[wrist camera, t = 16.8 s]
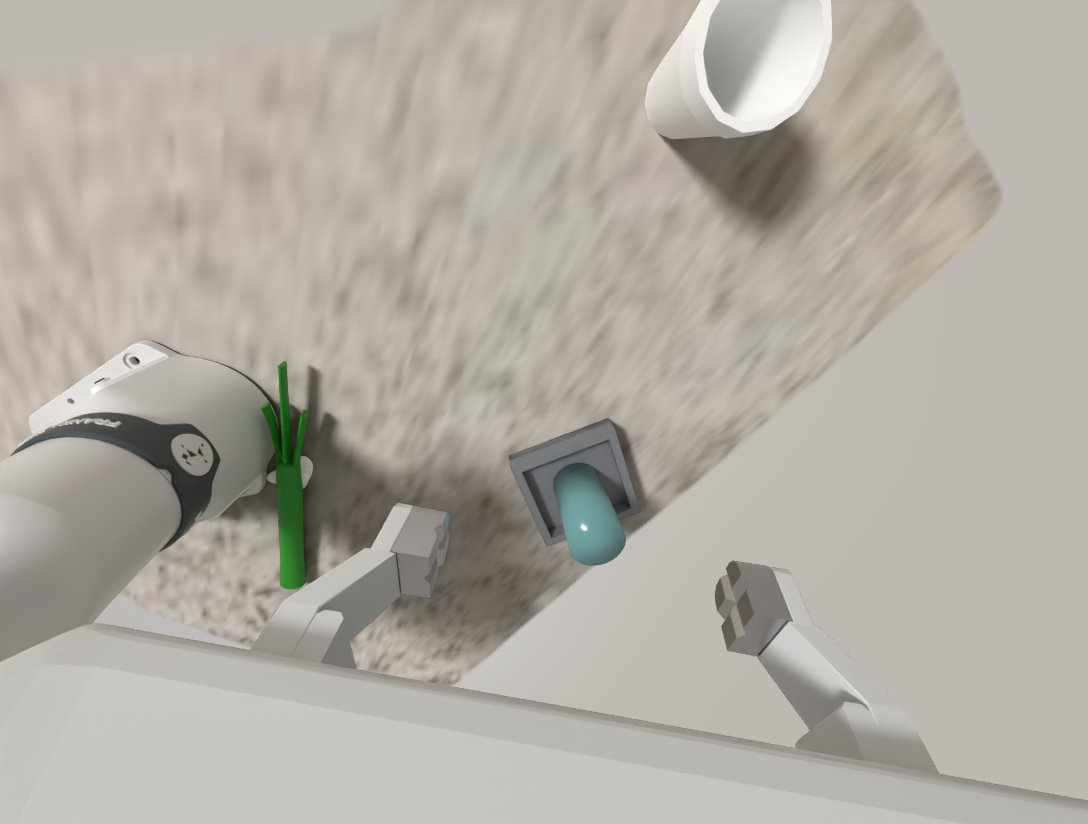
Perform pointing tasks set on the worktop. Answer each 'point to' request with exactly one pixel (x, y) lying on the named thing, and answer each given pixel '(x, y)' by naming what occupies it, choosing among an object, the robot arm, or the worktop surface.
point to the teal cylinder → (587, 515)
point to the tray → (551, 456)
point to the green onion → (289, 486)
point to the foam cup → (740, 67)
